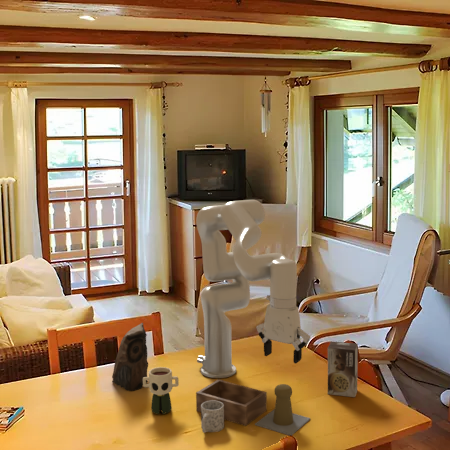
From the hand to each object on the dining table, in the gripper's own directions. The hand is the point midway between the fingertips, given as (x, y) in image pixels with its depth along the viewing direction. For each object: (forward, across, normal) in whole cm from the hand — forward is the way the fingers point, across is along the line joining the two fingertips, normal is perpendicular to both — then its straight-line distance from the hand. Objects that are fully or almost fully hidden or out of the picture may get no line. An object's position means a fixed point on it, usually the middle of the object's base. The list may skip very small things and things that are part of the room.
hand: (282, 358), depth 186 cm
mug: (+20, -15, -16) cm, 30 cm away
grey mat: (+20, +1, 0) cm, 20 cm away
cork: (+20, +1, 0) cm, 20 cm away
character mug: (+20, -34, -14) cm, 42 cm away
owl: (+21, -57, -3) cm, 61 cm away
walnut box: (+20, -16, -2) cm, 26 cm away
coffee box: (+20, +7, +29) cm, 36 cm away
